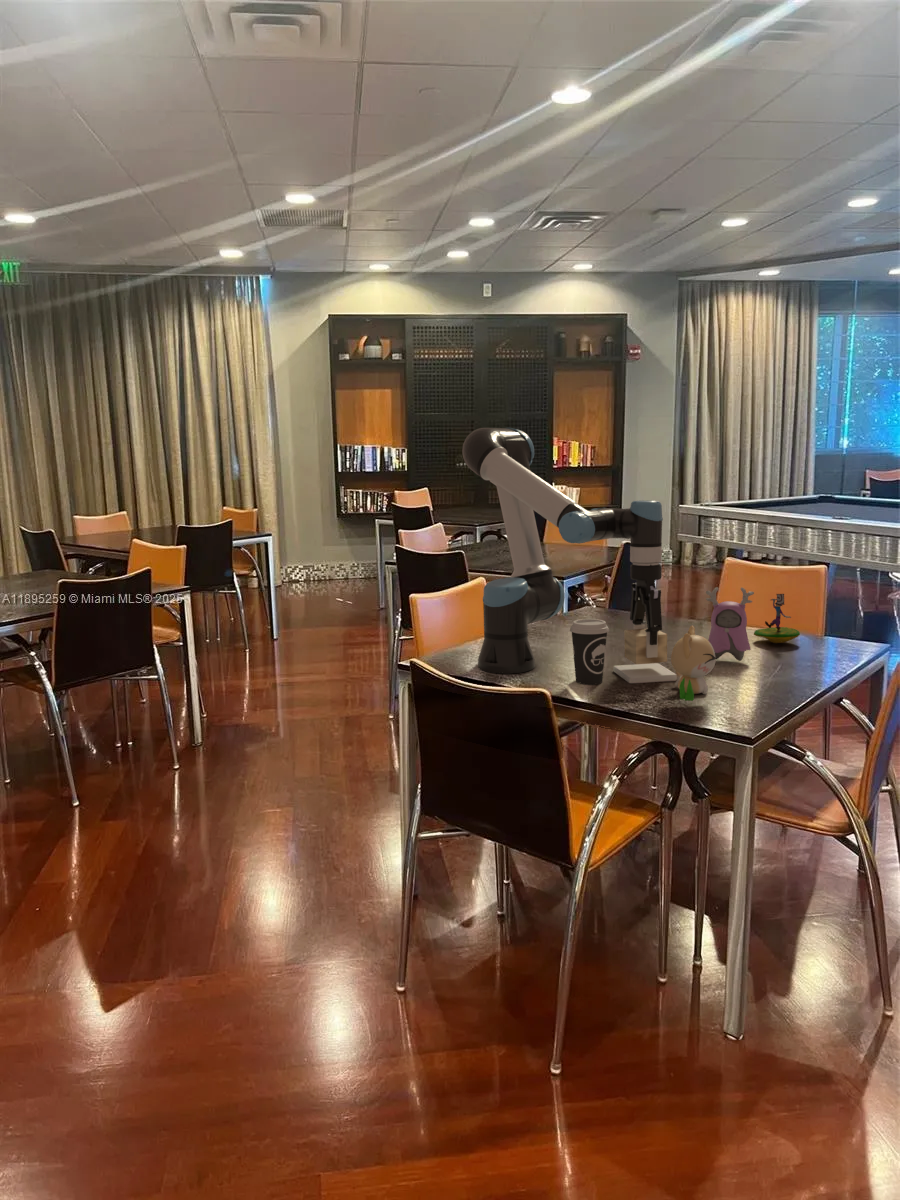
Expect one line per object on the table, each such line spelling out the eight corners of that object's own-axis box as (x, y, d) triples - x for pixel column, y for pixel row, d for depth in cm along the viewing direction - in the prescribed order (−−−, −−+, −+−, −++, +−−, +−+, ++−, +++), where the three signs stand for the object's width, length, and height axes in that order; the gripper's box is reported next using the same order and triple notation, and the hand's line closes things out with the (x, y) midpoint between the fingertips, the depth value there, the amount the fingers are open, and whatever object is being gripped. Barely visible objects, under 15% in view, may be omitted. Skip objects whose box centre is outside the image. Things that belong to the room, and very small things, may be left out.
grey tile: (629, 683, 200) (629, 677, 199) (613, 671, 211) (613, 665, 211) (676, 680, 201) (676, 674, 201) (657, 668, 213) (658, 663, 213)
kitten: (711, 703, 181) (713, 637, 179) (665, 699, 185) (666, 634, 183) (718, 686, 195) (720, 625, 192) (675, 683, 199) (676, 622, 196)
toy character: (703, 663, 217) (705, 589, 214) (705, 654, 227) (707, 583, 224) (751, 666, 213) (754, 590, 210) (751, 657, 223) (754, 584, 219)
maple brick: (636, 664, 201) (636, 636, 200) (624, 657, 209) (624, 630, 208) (667, 661, 202) (667, 634, 201) (654, 654, 210) (654, 628, 209)
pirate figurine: (751, 637, 248) (753, 588, 246) (796, 638, 245) (798, 589, 242) (755, 647, 235) (757, 595, 233) (802, 648, 232) (805, 596, 229)
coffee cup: (606, 676, 207) (607, 618, 204) (610, 686, 197) (611, 625, 195) (568, 676, 208) (568, 618, 205) (570, 686, 198) (570, 625, 196)
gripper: (677, 567, 192) (676, 661, 195) (645, 558, 212) (644, 644, 216) (647, 568, 191) (646, 663, 194) (617, 559, 211) (616, 645, 215)
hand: (645, 653), depth 205 cm, fingers closed on maple brick, 8 cm apart
